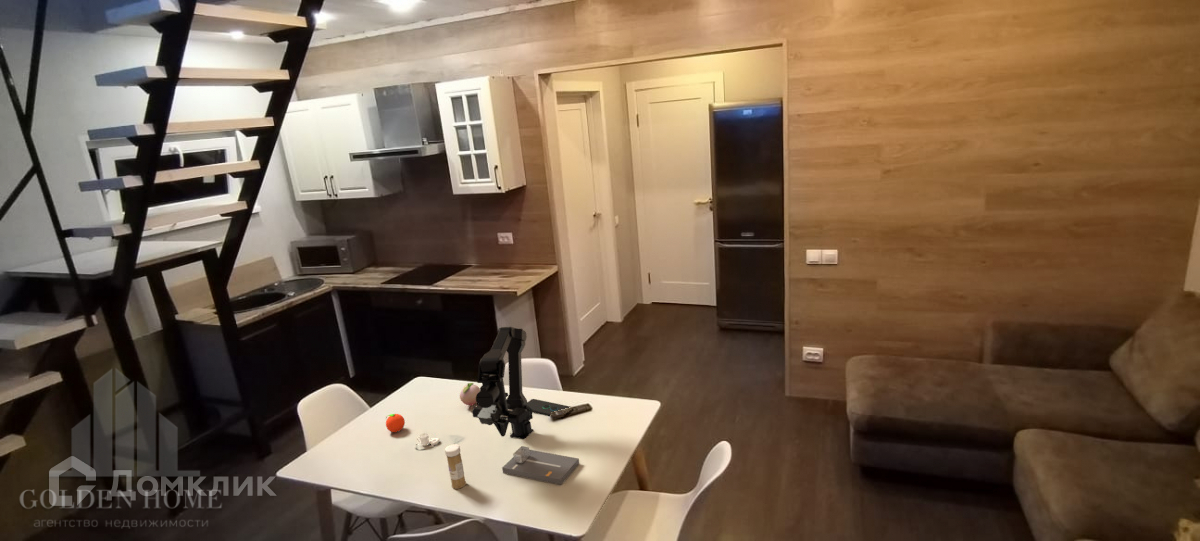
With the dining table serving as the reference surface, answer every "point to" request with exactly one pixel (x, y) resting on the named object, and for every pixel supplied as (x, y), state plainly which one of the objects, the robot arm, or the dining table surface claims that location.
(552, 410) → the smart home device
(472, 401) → the decorative fruit
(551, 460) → the board
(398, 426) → the clementine
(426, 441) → the white charger with cable
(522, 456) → the fader tab
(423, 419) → the dining table surface
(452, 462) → the sprinkles bottle
